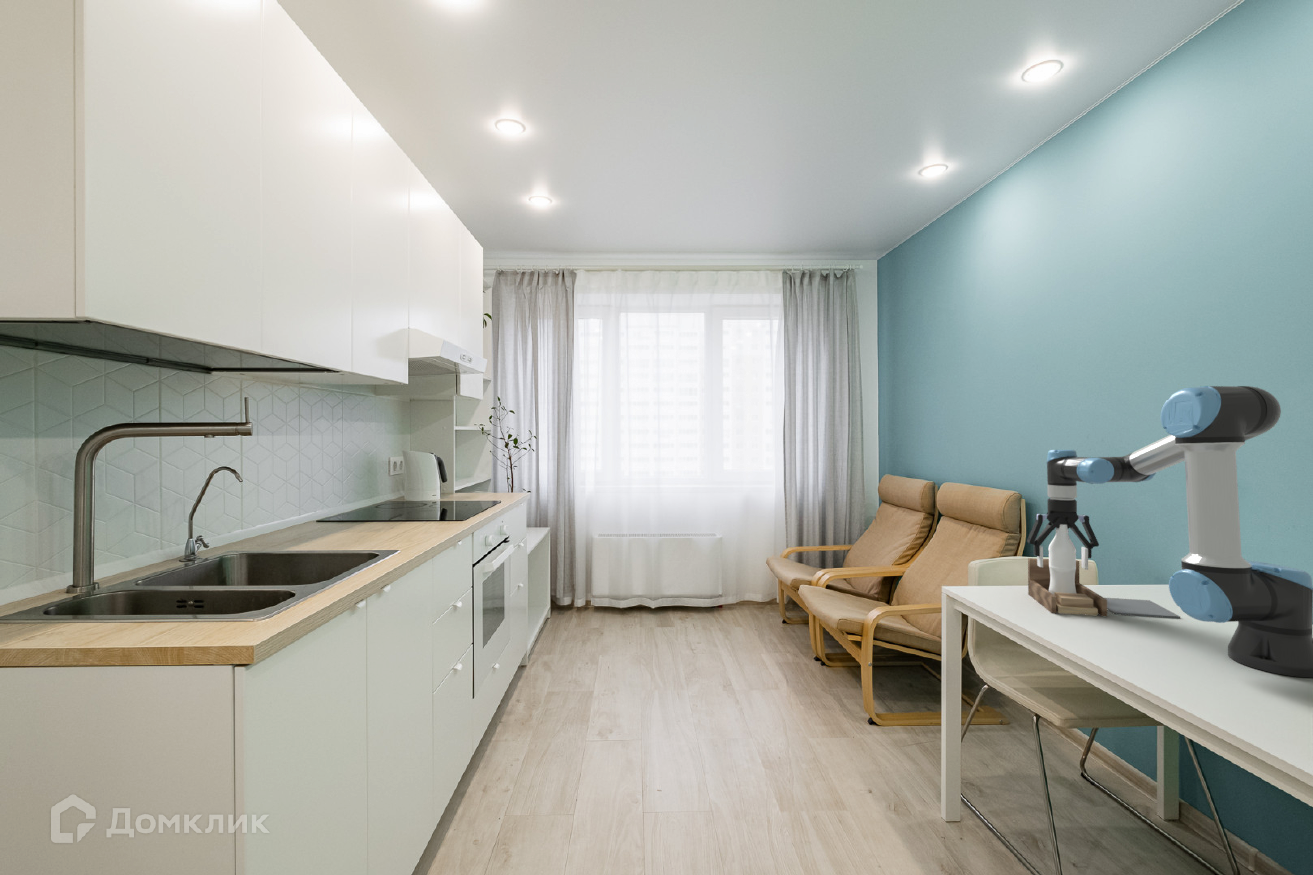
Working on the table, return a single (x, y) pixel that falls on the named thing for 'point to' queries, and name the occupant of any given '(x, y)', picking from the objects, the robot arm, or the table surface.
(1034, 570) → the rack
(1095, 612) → the offcut lower
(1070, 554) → the water bottle
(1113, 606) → the mat
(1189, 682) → the table surface
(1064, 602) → the offcut upper
